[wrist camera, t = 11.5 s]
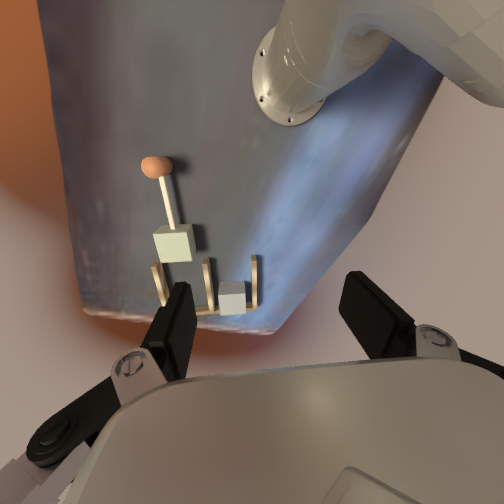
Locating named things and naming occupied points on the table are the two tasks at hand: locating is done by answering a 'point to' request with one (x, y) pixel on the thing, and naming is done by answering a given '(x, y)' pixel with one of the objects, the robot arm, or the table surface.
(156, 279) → the lane rack
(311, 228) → the table surface
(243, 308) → the blue-grey block
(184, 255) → the knob-topped lever
